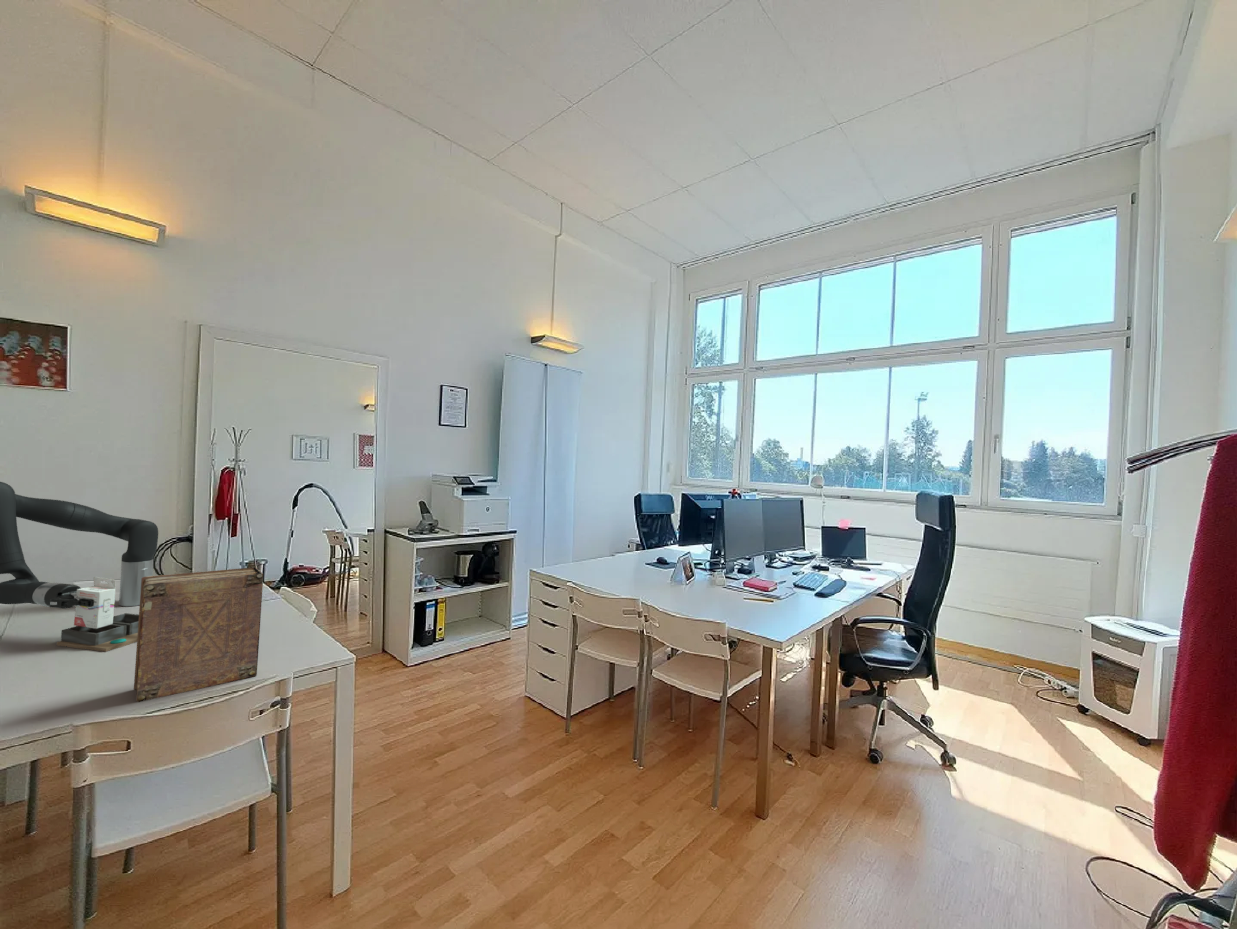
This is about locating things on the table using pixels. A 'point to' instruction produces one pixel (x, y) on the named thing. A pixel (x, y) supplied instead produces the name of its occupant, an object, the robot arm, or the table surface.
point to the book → (197, 630)
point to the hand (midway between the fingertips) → (102, 601)
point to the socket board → (103, 634)
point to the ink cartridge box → (96, 604)
